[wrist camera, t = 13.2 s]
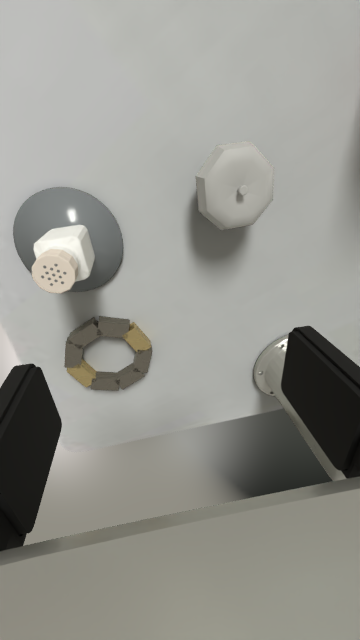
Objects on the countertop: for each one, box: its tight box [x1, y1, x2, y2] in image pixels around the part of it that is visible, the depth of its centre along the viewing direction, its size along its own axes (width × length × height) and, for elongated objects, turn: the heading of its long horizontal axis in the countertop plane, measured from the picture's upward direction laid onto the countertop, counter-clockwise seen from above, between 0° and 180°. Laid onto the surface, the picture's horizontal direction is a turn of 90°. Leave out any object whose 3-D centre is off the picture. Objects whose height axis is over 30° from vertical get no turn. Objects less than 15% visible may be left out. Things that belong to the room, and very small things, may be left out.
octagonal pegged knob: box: [196, 141, 274, 230], centre depth 27 cm, size 8×8×7 cm
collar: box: [65, 316, 152, 390], centre depth 37 cm, size 11×11×2 cm
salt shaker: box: [32, 225, 95, 293], centre depth 25 cm, size 4×4×10 cm
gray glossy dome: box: [13, 187, 123, 292], centre depth 29 cm, size 11×11×1 cm
